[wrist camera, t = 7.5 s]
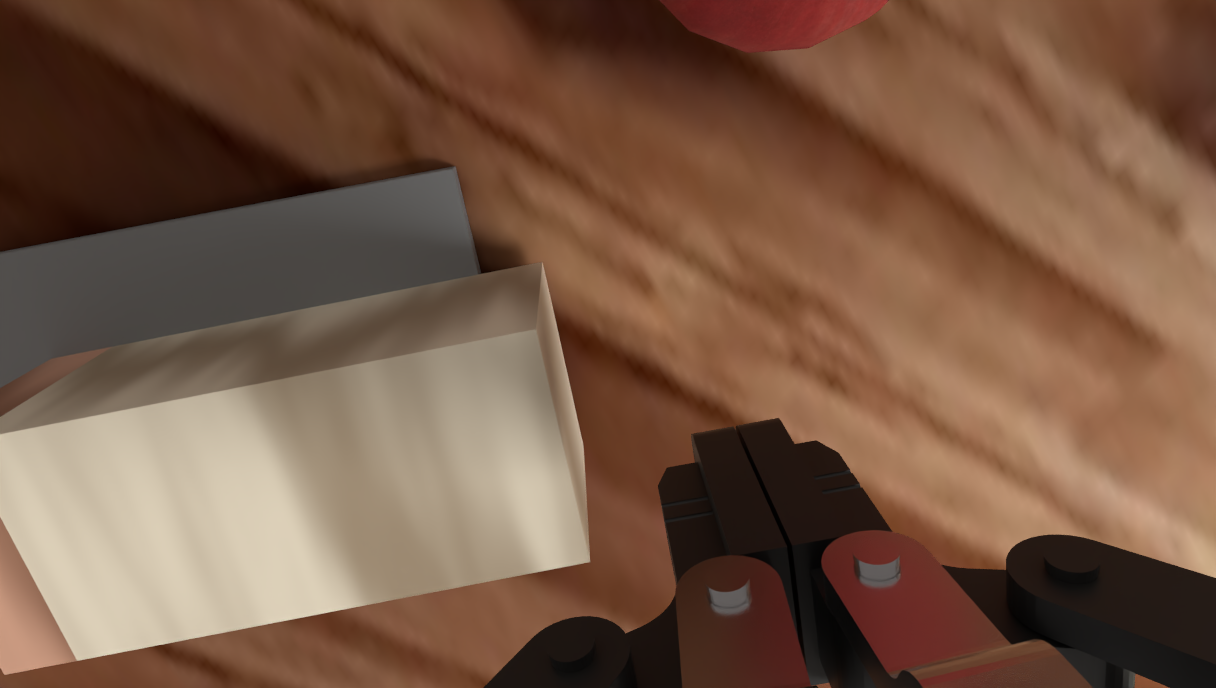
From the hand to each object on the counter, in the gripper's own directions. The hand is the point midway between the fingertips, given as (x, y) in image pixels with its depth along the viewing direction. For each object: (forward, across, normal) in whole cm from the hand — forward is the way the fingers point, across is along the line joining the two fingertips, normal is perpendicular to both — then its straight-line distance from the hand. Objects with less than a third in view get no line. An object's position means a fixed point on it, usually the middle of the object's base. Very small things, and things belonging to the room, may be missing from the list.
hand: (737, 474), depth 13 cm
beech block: (+4, +3, 0) cm, 5 cm away
